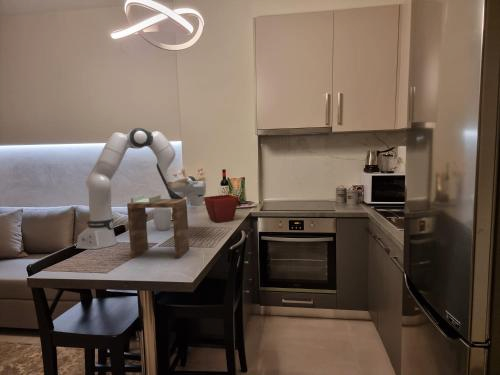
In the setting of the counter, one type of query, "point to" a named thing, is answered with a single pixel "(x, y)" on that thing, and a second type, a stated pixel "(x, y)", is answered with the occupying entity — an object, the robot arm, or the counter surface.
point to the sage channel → (141, 199)
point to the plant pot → (221, 207)
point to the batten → (177, 183)
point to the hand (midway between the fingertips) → (183, 180)
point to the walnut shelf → (140, 227)
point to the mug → (162, 218)
